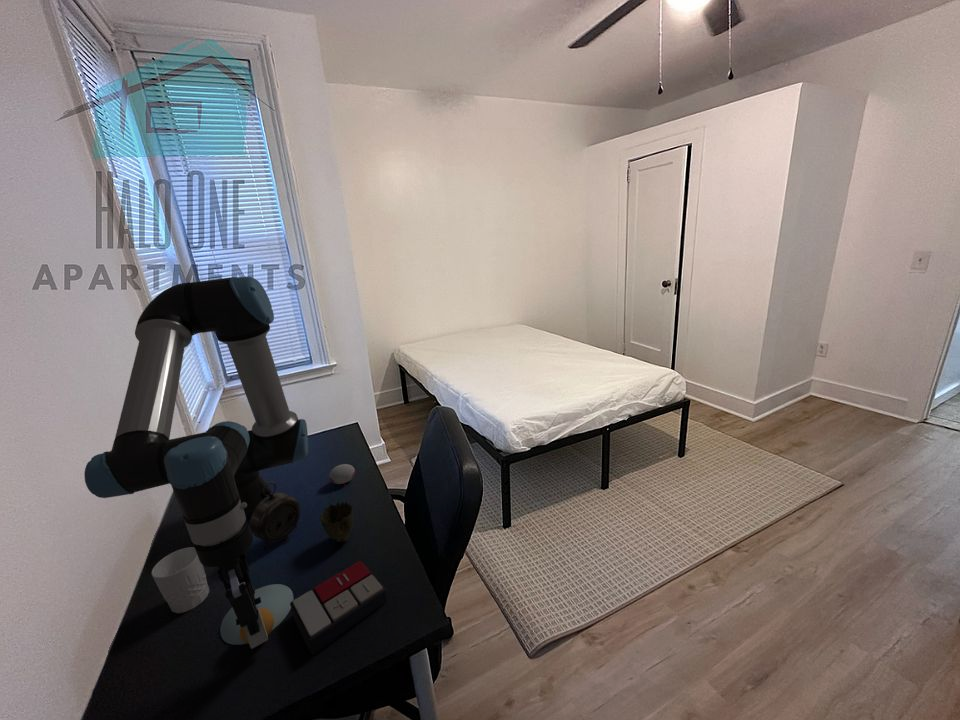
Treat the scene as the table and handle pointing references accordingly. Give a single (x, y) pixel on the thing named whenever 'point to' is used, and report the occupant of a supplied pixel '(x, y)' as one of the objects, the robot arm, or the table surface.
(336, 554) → the table surface
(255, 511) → the alarm clock
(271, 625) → the ball
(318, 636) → the calculator
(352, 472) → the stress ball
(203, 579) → the white cup
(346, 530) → the dark brown rounded lump
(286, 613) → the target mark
